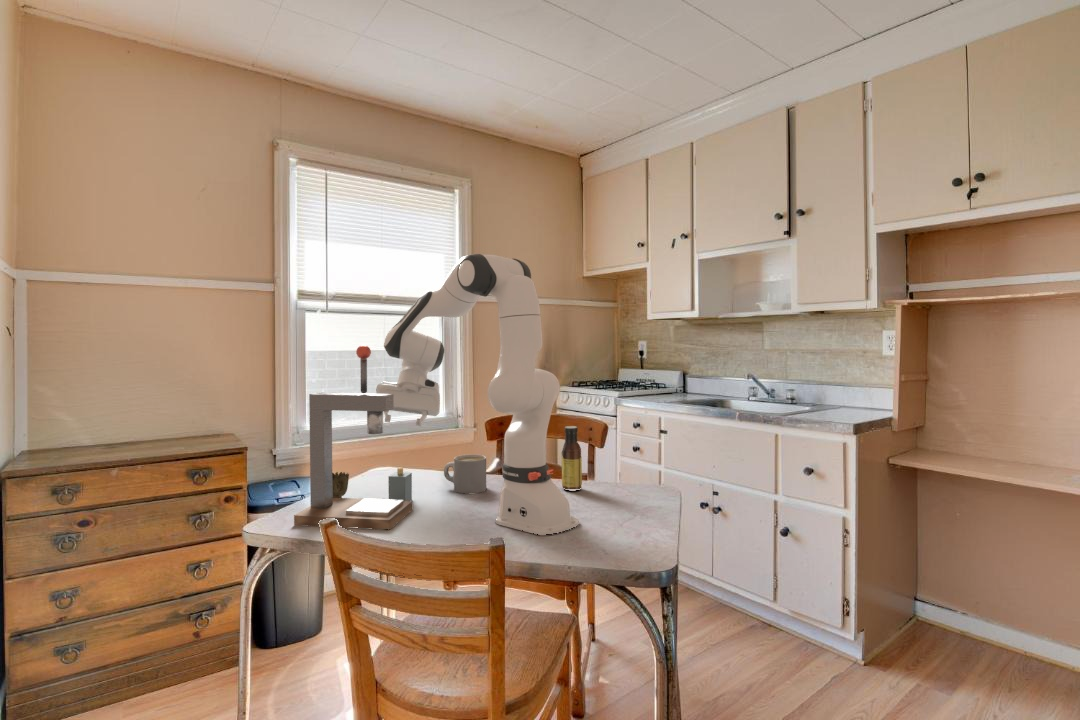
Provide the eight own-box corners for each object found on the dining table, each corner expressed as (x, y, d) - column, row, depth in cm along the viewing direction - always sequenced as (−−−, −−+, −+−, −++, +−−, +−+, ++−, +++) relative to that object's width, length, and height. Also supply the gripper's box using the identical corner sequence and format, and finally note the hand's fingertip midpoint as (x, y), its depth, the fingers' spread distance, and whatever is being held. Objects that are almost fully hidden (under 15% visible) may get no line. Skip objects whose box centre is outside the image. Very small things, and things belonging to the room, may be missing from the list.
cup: (340, 506, 155) (339, 478, 155) (316, 505, 157) (316, 477, 157) (354, 499, 163) (353, 472, 162) (331, 497, 164) (331, 470, 164)
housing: (411, 499, 163) (411, 466, 162) (405, 504, 158) (405, 470, 157) (395, 499, 163) (395, 465, 163) (388, 504, 158) (388, 469, 158)
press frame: (403, 503, 150) (402, 345, 149) (387, 516, 139) (386, 345, 138) (325, 500, 153) (323, 344, 152) (303, 512, 142) (301, 345, 141)
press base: (412, 510, 153) (412, 501, 153) (389, 530, 137) (389, 520, 137) (326, 506, 156) (326, 497, 156) (294, 525, 140) (294, 515, 140)
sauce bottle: (571, 486, 178) (571, 424, 178) (585, 489, 174) (586, 426, 173) (557, 489, 174) (557, 426, 173) (571, 493, 169) (572, 429, 169)
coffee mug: (491, 487, 177) (491, 455, 176) (476, 495, 167) (476, 462, 167) (455, 482, 182) (455, 452, 181) (438, 490, 172) (438, 458, 172)
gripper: (377, 375, 174) (367, 413, 166) (443, 384, 176) (436, 422, 168) (379, 386, 179) (369, 423, 171) (442, 394, 181) (435, 432, 173)
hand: (402, 423), depth 169 cm, fingers open, 8 cm apart
